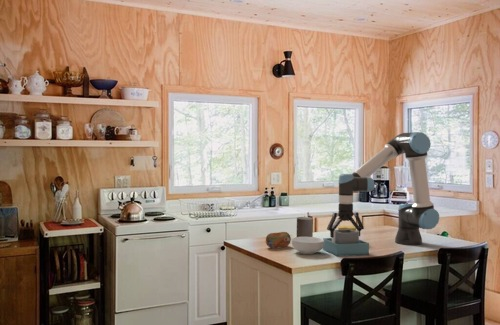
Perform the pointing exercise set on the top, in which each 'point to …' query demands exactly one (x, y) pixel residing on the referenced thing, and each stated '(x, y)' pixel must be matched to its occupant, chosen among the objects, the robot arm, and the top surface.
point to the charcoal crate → (346, 237)
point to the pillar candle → (304, 227)
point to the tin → (278, 240)
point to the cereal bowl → (307, 244)
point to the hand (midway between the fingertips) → (345, 243)
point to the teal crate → (346, 248)
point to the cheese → (347, 228)
